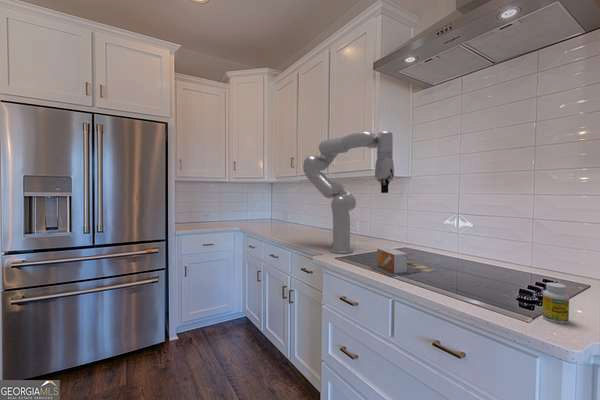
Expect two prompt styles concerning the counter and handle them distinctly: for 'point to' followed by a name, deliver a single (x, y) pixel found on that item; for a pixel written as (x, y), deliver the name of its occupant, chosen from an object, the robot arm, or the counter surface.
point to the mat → (386, 272)
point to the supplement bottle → (556, 303)
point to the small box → (392, 260)
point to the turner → (420, 267)
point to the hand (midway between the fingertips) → (384, 192)
